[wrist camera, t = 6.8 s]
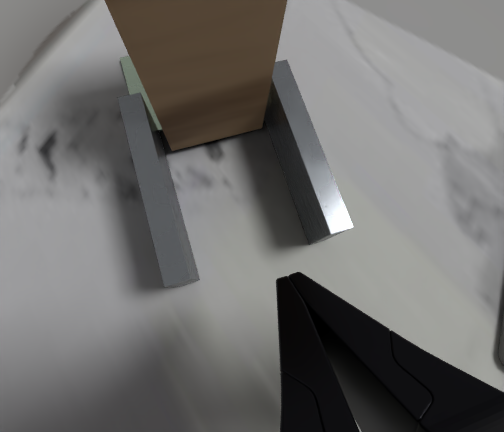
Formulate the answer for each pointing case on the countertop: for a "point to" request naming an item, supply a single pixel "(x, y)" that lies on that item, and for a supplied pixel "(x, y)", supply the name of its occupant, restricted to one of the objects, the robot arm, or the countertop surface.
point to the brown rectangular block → (202, 62)
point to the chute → (288, 151)
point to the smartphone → (501, 343)
